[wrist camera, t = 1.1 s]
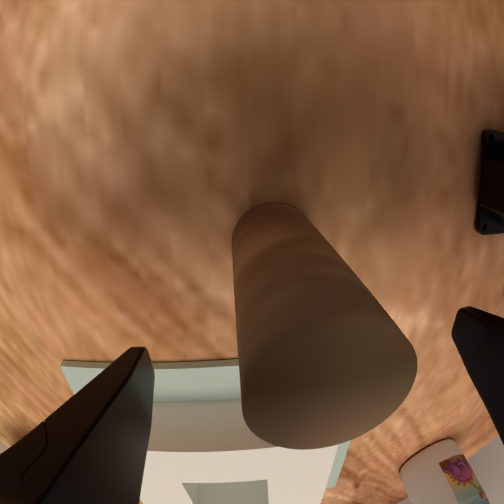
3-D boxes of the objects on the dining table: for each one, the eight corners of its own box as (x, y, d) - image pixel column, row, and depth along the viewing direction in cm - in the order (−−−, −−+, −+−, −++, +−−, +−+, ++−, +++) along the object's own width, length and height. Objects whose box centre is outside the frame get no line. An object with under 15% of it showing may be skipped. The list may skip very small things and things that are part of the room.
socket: (370, 341, 18) (400, 391, 14) (333, 482, 26) (343, 516, 21) (63, 360, 17) (37, 408, 13) (145, 493, 25) (141, 527, 20)
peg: (313, 199, 15) (435, 309, 5) (312, 276, 16) (394, 430, 7) (228, 205, 15) (233, 338, 5) (235, 283, 16) (248, 457, 7)
